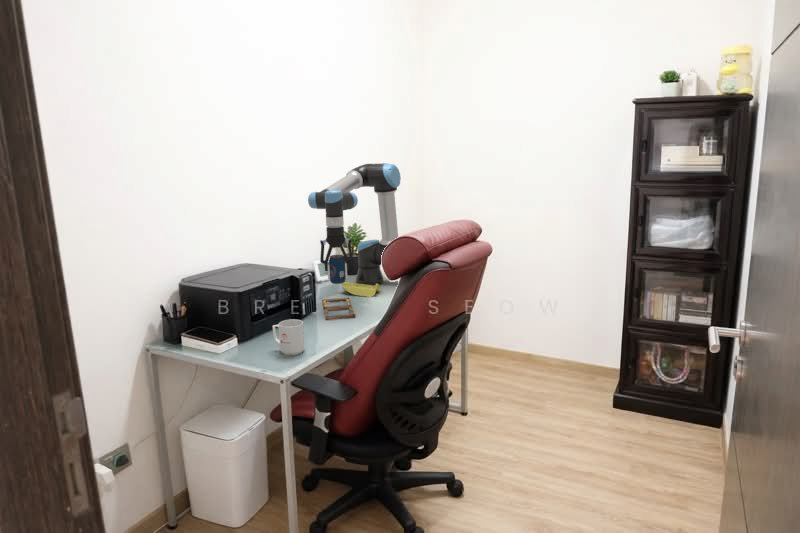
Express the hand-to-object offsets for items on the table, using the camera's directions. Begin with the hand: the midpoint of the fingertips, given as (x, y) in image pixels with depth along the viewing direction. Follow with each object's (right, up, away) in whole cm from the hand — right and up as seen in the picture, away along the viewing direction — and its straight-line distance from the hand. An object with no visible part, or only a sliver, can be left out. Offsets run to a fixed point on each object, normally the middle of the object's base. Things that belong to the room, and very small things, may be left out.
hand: (337, 277), depth 244 cm
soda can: (0, -2, +1) cm, 2 cm away
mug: (-14, -27, -40) cm, 50 cm away
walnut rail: (-1, -15, +10) cm, 18 cm away
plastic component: (+7, -9, +37) cm, 39 cm away
